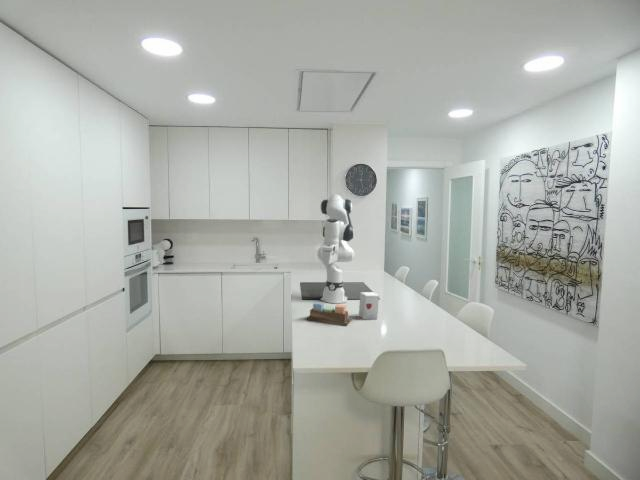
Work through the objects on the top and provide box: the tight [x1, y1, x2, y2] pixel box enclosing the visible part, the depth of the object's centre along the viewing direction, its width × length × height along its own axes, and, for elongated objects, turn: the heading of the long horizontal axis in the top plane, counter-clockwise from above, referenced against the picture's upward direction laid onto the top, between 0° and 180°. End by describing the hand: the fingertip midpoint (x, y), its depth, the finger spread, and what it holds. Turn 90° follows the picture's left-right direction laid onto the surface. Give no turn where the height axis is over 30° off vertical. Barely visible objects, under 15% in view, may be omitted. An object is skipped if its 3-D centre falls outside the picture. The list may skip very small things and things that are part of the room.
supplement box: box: [358, 291, 380, 321], centre depth 241 cm, size 9×9×15 cm
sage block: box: [324, 307, 335, 313], centre depth 230 cm, size 5×5×5 cm
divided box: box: [305, 307, 352, 327], centre depth 230 cm, size 10×24×6 cm, turn 73°
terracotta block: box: [334, 304, 347, 314], centre depth 228 cm, size 5×5×5 cm
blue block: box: [312, 301, 325, 311], centre depth 232 cm, size 5×5×5 cm
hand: (330, 270), depth 233 cm, fingers closed
